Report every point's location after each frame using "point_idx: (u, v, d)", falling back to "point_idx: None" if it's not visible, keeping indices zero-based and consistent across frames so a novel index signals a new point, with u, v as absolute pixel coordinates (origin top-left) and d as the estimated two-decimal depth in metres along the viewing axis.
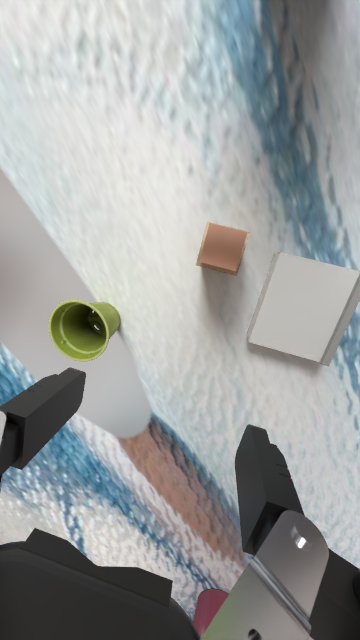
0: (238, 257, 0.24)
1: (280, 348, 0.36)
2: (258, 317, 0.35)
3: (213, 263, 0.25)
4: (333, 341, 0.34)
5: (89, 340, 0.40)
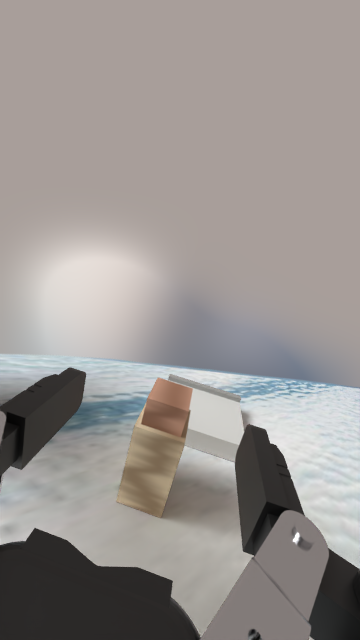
0: (180, 385, 0.25)
1: (240, 423, 0.37)
2: (218, 437, 0.33)
3: (188, 401, 0.23)
4: (220, 392, 0.43)
5: None
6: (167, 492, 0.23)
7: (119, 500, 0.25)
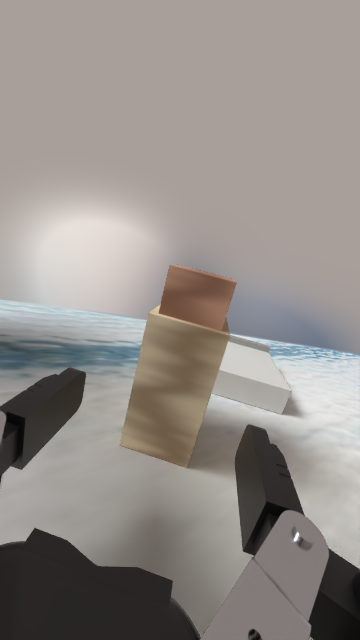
0: None
1: (276, 369, 0.29)
2: (252, 379, 0.25)
3: (231, 279, 0.15)
4: (245, 340, 0.35)
5: None
6: (198, 424, 0.15)
7: (124, 443, 0.16)
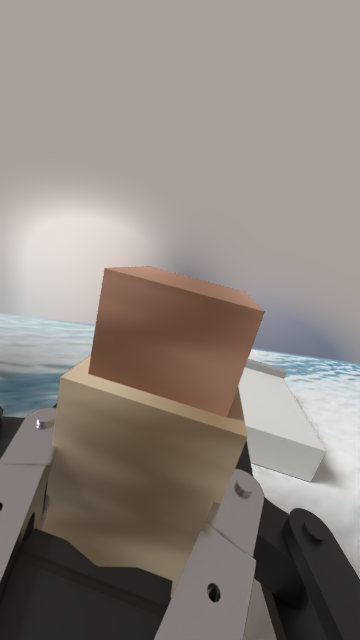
0: (209, 282, 0.09)
1: (298, 409, 0.21)
2: (269, 431, 0.17)
3: (247, 299, 0.07)
4: (254, 362, 0.28)
5: None
6: None
7: None
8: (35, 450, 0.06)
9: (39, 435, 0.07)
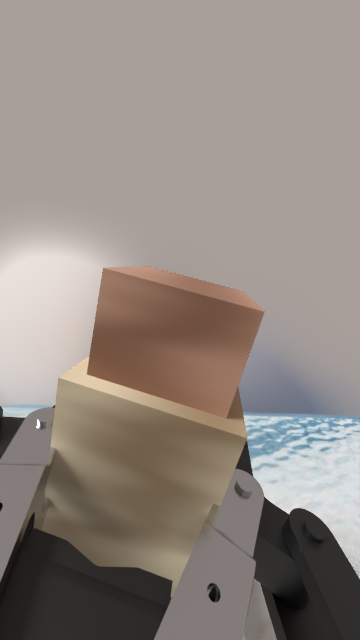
0: None
1: None
2: None
3: (247, 299, 0.07)
4: None
5: None
6: None
7: None
8: (35, 450, 0.06)
9: (39, 435, 0.07)
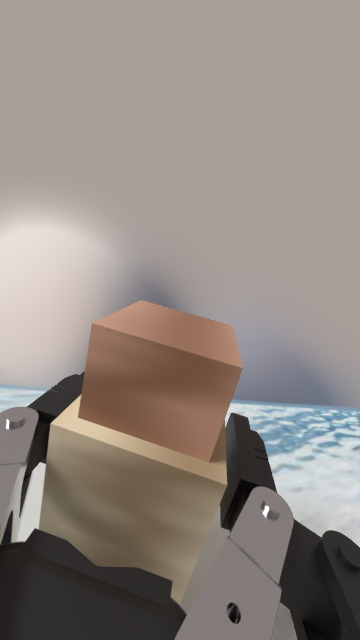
0: (199, 317, 0.10)
1: None
2: None
3: (231, 344, 0.07)
4: None
5: None
6: None
7: None
8: (0, 451, 0.06)
9: (10, 435, 0.07)
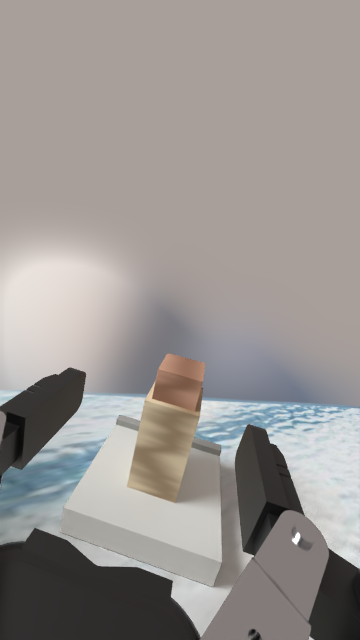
0: (191, 360, 0.24)
1: (216, 502, 0.23)
2: (172, 543, 0.19)
3: (201, 373, 0.21)
4: None
5: None
6: (181, 473, 0.22)
7: (129, 485, 0.23)
8: None
9: None
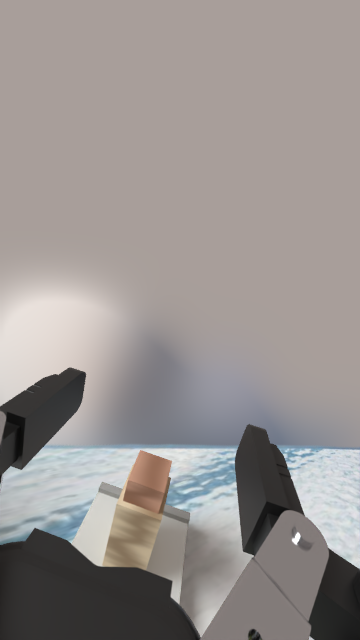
0: (160, 458, 0.28)
1: (178, 578, 0.28)
2: None
3: (165, 479, 0.25)
4: (164, 510, 0.34)
5: None
6: (147, 560, 0.26)
7: (104, 564, 0.27)
8: None
9: None
